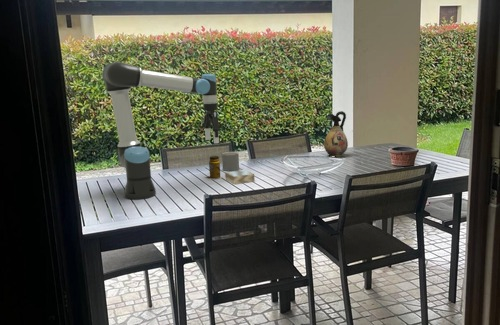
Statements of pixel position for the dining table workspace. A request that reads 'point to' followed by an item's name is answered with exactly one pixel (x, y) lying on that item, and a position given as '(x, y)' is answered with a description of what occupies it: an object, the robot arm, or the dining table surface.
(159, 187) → the dining table surface
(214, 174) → the condiment
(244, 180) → the plinth
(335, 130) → the ceramic jug
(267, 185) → the dining table surface
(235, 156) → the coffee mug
